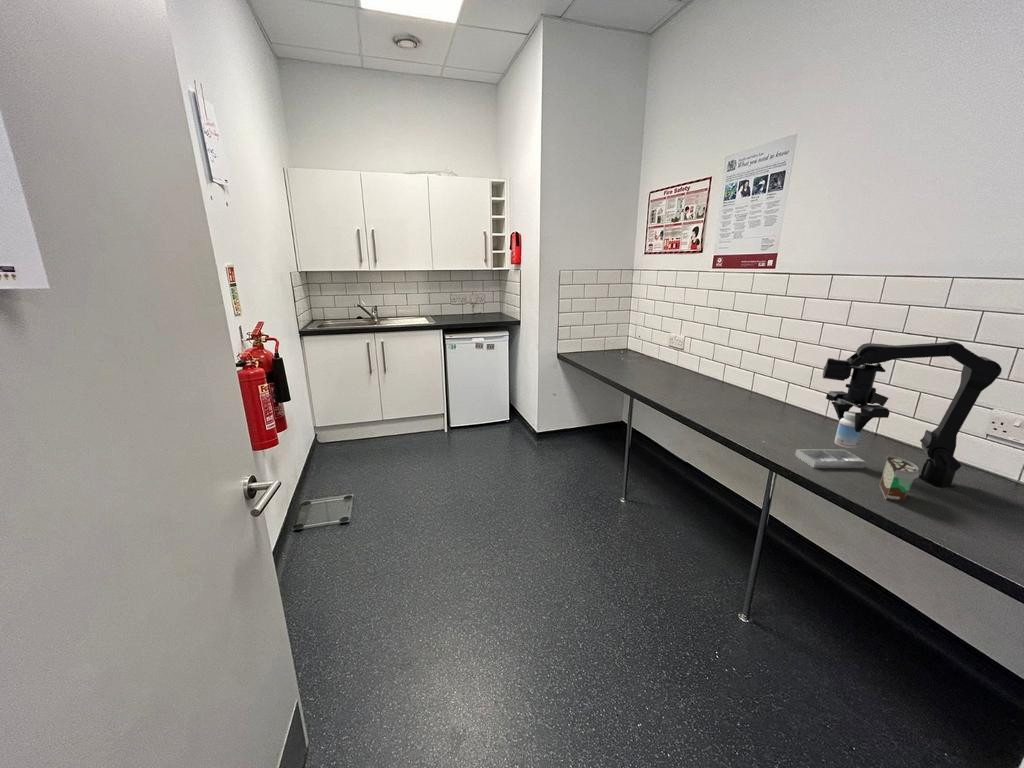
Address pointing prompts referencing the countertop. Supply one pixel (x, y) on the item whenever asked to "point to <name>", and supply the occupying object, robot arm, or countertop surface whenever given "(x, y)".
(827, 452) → the grey tray
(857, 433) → the pill bottle
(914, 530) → the countertop surface
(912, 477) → the food container
